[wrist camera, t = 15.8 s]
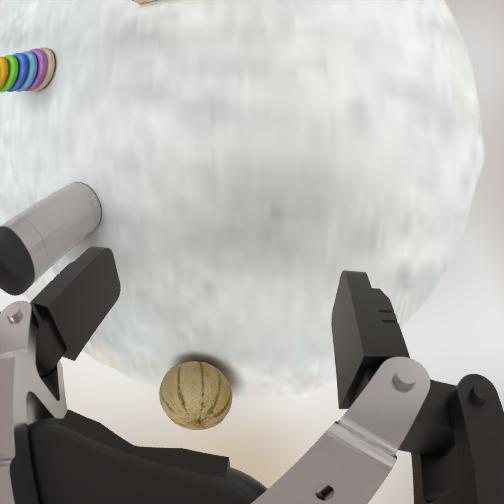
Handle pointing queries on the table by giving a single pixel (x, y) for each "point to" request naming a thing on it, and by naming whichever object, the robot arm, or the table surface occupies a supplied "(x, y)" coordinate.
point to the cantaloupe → (195, 395)
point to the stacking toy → (26, 70)
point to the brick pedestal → (142, 1)
